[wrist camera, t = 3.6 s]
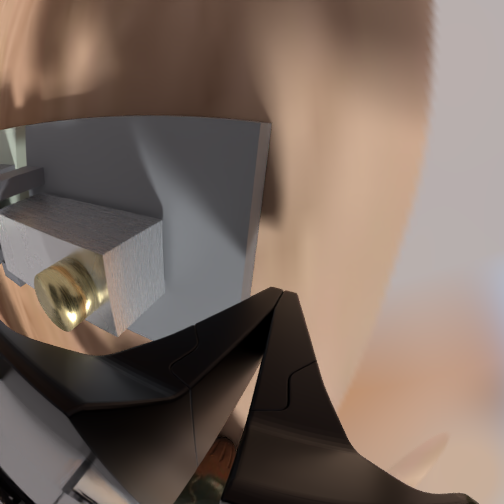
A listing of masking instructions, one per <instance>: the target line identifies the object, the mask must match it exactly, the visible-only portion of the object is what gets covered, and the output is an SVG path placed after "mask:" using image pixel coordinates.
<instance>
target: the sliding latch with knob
mask: <svg viewBox="0 0 504 504" xmlns="http://www.w3.org/2000/svg"><path fill="white" fill-rule="evenodd" d="M271 125H272V123H265V122H257V121H248V120H238V119H227V118H214V117H197V116H169V115H135V116H107V117H91V118H79V119H69V120H60V121H51V122H44V123H38V124H32V125H31V124H30V125H24V126H18V127H13V128H8V129H3V130H0V209H2V208H4V207H6V206H8V205H11V204H13V203H16V202H18V201H20V200H23V199H25V198H28V197H30V196H33V195H36V194H38V193H46V194H50V195H55V196H59V197H64V198H69V199H73V200H78V201H82V202H87V203H91V204H96V205H100V206H105V207H109V208H113V209H118V210H122V211H127V212H131V213H136V214H140V215H144V216H149V217H153V218H157V219H162V220H163V254H164V278H165V293H164V294H163V295H162V296H161V297H160V298H158V299H157V300H156V301H155V302H154V303H153V304H152V305H151V306H150V307H149V308H148V309H147V310H146V311H145V312H144V313H143V314H142V315H140V316H139V317H138V318H137V319H136V320H135V321H134V322H133V323H132V324H131V325H130V326H129V327H128V328H127V329H128V330H131V331H133V332H135V333H137V334H139V335H141V336H144V337H146V338H148V339H150V340H153V341H155V340H157V339H160V338H163V337H166V336H169V335H171V334H173V333H176V332H178V331H180V330H183V329H185V328H187V327H189V326H191V325H195V324H196V323H198V322H200V321H202V320H204V319H206V318H208V317H210V316H212V315H215V314H217V313H219V312H221V311H223V310H225V309H227V308H229V307H231V306H233V305H235V304H237V303H239V302H241V301H243V300H245V299H247V298H249V297H250V292H251V285H252V277H253V269H254V261H255V253H256V245H257V237H258V230H259V222H260V214H261V206H262V198H263V190H264V182H265V174H266V166H267V158H268V150H269V142H270V133H271ZM1 263H2V265H3V268H4V272H5V275H6V276H7V277H8V278H10V279H11V280H12V281H14V282H15V283H16V284H18V285H19V286H20V287H21V286H23V285H24V284H26V283H25V282H24V281H22V280H21V279H19V278H18V277H17V276H15V275H14V274H12V273H11V272H10V271H8V270H7V267H6V263H5V260H4V256H3V252H2V248H1V244H0V264H1Z"/></svg>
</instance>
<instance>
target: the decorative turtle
mask: <svg viewBox="0 0 504 504" xmlns="http://www.w3.org/2000/svg"><path fill="white" fill-rule="evenodd" d="M235 456H236V451H235V447H234V444H233V442H231V441H230V440H229V439H227V438H225V437H224V438H216V439H215V441H214V443H213V444H212V446H211V447H210V449H209V451H208V452H207V454H206V455H205V457H204V458H203V460H202V462H201V463H200V465H199V466H198V467H197V469H196V471H195V473H194V474H193V476H192V477H191V479H190V480H189V482H188V483H187V485H186V486H185V488H184V489H183V490H182V492H181V493H180V495H179V496H178V498H177V499H176V501H175V502H174V504H220V498H221V495H222V493H223V490H224V487H225V485H226V482H227V479H228V476H229V473H230V470H231V467H232V464H233V462H234V459H235Z"/></svg>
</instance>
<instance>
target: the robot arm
mask: <svg viewBox="0 0 504 504" xmlns="http://www.w3.org/2000/svg"><path fill="white" fill-rule="evenodd" d="M261 360H262V361H261ZM260 362H261V365H260V369H259V373H258V377H257V382H256V386H255V390H254V394H253V398H252V402H251V405H250V409H249V414H248V417H247V421H246V424H245V428H244V431H243V435H242V438H241V441H240V444H239V447H238V450H237V453H236V456H235V459H234V462H233V464H232V467H231V470H230V473H229V476H228V479H227V482H226V485H225V487H224V490H223V493H222V495H221V498H220V504H479V503H477V502H476V501H475V500H474V499H472V498H470V497H469V496H468V495H466V494H463V493H448V494H431V493H427V492H422V491H419V490H417V489H414V488H412V487H410V486H408V485H406V484H405V483H403V482H401V481H400V480H398V479H396V478H395V477H393V476H392V475H390V474H389V473H387V472H385V471H384V470H382V469H380V468H379V467H378V466H376V465H375V464H373V463H372V462H370V461H369V460H367V459H366V458H364V457H363V456H361V455H360V454H359V453H358V452H357V451H356V450H355V449H354V448H353V446H352V445H351V443H350V442H349V440H348V438H347V436H346V434H345V431H344V429H343V427H342V425H341V423H340V420H339V418H338V416H337V414H336V412H335V409H334V407H333V405H332V403H331V401H330V398H329V396H328V393H327V391H326V389H325V386H324V383H323V380H322V377H321V374H320V370H319V367H318V363H317V360H316V357H315V353H314V350H313V346H312V342H311V339H310V336H309V332H308V329H307V325H306V322H305V318H304V315H303V311H302V308H301V305H300V301H299V298H298V295H297V293H294V292H290V291H284V292H283V290H282V289H279V288H275V287H269V288H267V289H265V290H263V291H261V292H259V293H257V294H255V295H253V296H251V297H249V298H247V299H245V300H243V301H241V302H239V303H237V304H235V305H233V306H231V307H229V308H227V309H225V310H223V311H221V312H219V313H217V314H215V315H212V316H210V317H208V318H206V319H204V320H202V321H200V322H198V323H196V324H195V325H191V326H189V327H187V328H185V329H183V330H180V331H178V332H176V333H173V334H171V335H169V336H166V337H163V338H160V339H157V340H155V341H152V342H149V343H146V344H143V345H140V346H136V347H133V348H130V349H127V350H124V351H121V352H117V353H114V354H110V355H104V356H93V355H87V354H83V353H79V352H75V351H71V350H67V349H64V348H60V347H57V346H53V345H50V344H47V343H43V342H40V341H37V340H34V339H31V338H28V337H26V336H23V335H21V334H19V333H16V332H15V331H13V330H11V329H10V328H9V327H7V326H6V325H5V324H4V323H3V322H2V321H1V320H0V504H174V502H175V501H176V499H177V498H178V496H179V495H180V493H181V492H182V490H183V489H184V488H185V486H186V485H187V483H188V482H189V480H190V479H191V477H192V476H193V474H194V473H195V471H196V469H197V467H198V466H199V465H200V463H201V462H202V460H203V458H204V457H205V455H206V454H207V452H208V451H209V449H210V447H211V446H212V444H213V443H214V441H215V439H216V438H217V436H218V435H219V433H220V431H221V430H222V428H223V426H224V425H225V423H226V421H227V420H228V418H229V416H230V415H231V413H232V411H233V410H234V408H235V406H236V405H237V403H238V401H239V399H240V398H241V396H242V394H243V392H244V391H245V389H246V387H247V386H248V384H249V382H250V380H251V378H252V377H253V375H254V373H255V371H256V370H257V368H258V366H259V364H260Z"/></svg>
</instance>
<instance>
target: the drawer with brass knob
mask: <svg viewBox="0 0 504 504" xmlns="http://www.w3.org/2000/svg"><path fill="white" fill-rule="evenodd" d="M0 244H1V248H2V252H3V256H4V260H5V263H6V267H7V270H8V271H10V272H11V273H12V274H14V275H15V276H17V277H18V278H19V279H21V280H22V281H24V282H25V283H27V284H28V285H30V286H31V287H33V288H34V289H35V292H36V295H37V297H38V300H39V302H40V304H41V306H42V308H43V309H44V311H45V313H46V314H47V315H48V317H49V318H50V319H51V320H52V321H53V323H54V324H56V325H57V326H58V327H59V328H60V329H62V330H64V331H67V332H69V331H71V330H73V329H74V328H75V327H76V326H77V325H79V324H80V323H81V322H82V321H83V320H86V321H88V322H90V323H92V324H94V325H96V326H97V327H99V328H101V329H103V330H105V331H107V332H109V333H111V334H113V335H114V336H116V337H119V336H120V335H121V334H122V333H123V332H124V331H125V330H126V329H127V328H128V327H129V326H130V325H131V324H132V323H133V322H134V321H135V320H136V319H137V318H138V317H139V316H140V315H142V314H143V313H144V312H145V311H146V310H147V309H148V308H149V307H150V306H151V305H152V304H153V303H154V302H155V301H156V300H157V299H158V298H160V297H161V296H162V295H163V294H164V293H165V278H164V254H163V220H162V219H157V218H153V217H149V216H144V215H140V214H136V213H131V212H127V211H122V210H118V209H113V208H109V207H105V206H100V205H96V204H91V203H87V202H82V201H78V200H73V199H69V198H64V197H59V196H55V195H50V194H46V193H38V194H36V195H33V196H30V197H28V198H25V199H23V200H20V201H18V202H16V203H13V204H11V205H8V206H6V207H4V208H2V209H0Z"/></svg>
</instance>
